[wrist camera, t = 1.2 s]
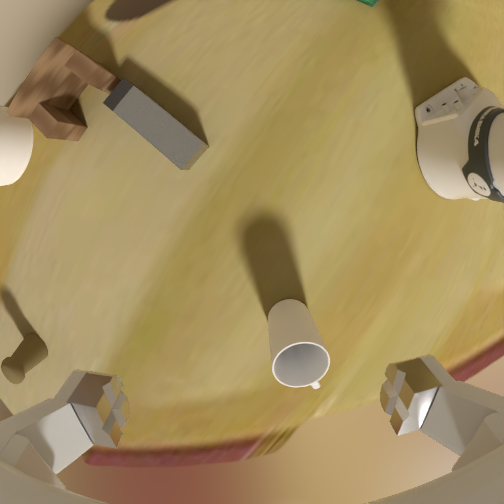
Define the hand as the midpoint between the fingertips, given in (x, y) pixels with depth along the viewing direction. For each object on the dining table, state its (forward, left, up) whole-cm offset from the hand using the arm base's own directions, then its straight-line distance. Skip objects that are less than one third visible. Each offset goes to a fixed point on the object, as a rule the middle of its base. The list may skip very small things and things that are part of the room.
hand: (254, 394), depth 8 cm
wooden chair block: (+2, -29, -32) cm, 44 cm away
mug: (+7, +16, -33) cm, 37 cm away
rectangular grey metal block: (-2, -17, -33) cm, 37 cm away
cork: (+46, -15, -33) cm, 59 cm away
